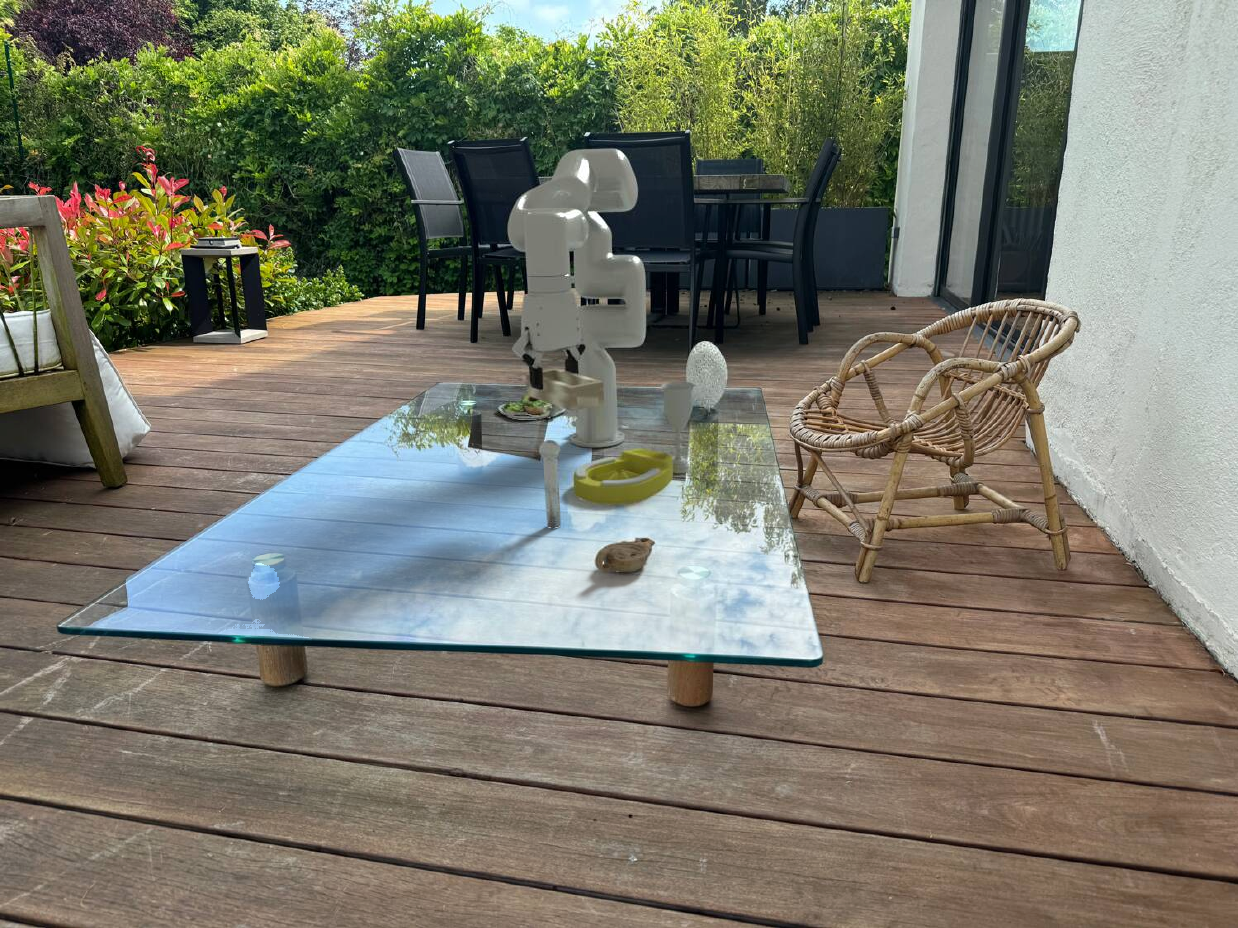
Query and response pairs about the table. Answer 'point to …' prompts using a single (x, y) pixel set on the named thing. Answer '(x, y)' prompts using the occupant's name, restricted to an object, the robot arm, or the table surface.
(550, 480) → the silver metal pin
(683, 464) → the chalice
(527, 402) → the salad plate
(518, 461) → the table surface
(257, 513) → the table surface
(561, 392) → the link
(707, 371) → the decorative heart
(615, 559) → the oil lamp
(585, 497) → the yellow-green spoked oval frame
